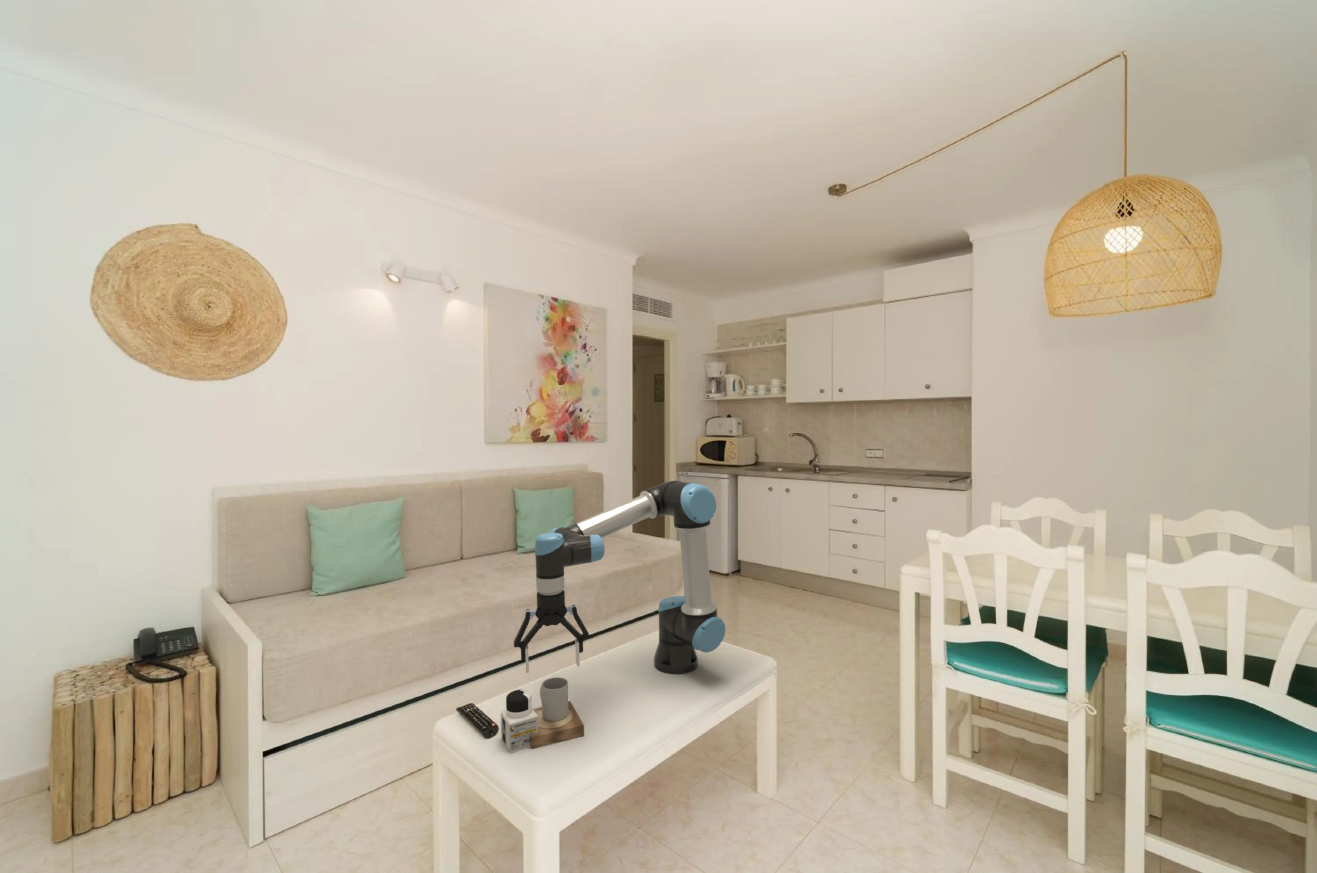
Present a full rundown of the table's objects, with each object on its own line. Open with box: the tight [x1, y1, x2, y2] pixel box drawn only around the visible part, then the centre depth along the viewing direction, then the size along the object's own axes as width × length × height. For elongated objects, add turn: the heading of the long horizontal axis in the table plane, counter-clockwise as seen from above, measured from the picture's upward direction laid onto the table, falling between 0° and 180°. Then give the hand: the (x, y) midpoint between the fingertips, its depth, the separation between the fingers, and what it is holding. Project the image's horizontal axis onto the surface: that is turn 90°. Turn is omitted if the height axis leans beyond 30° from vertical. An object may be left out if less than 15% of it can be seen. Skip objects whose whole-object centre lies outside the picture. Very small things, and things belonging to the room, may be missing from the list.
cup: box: [539, 676, 569, 722], centre depth 154 cm, size 7×10×9 cm
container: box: [500, 689, 538, 754], centre depth 147 cm, size 8×8×13 cm
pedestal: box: [530, 700, 585, 750], centre depth 153 cm, size 14×14×3 cm
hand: (552, 667), depth 152 cm, fingers open, 13 cm apart
